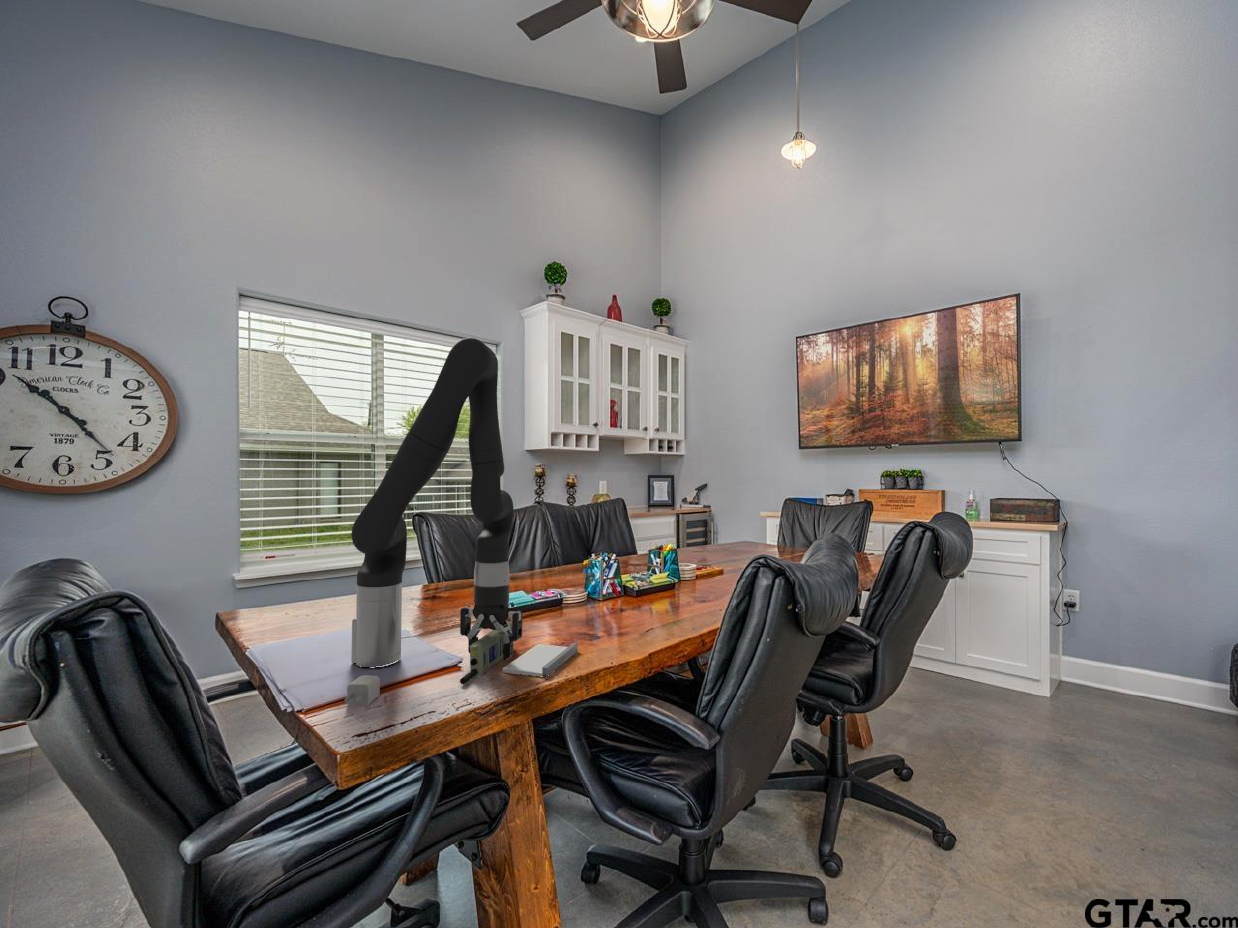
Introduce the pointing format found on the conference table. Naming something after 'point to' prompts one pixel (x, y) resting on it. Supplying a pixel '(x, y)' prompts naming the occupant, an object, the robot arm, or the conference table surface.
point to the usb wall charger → (363, 691)
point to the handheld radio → (485, 654)
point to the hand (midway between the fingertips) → (490, 657)
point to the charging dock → (541, 660)
